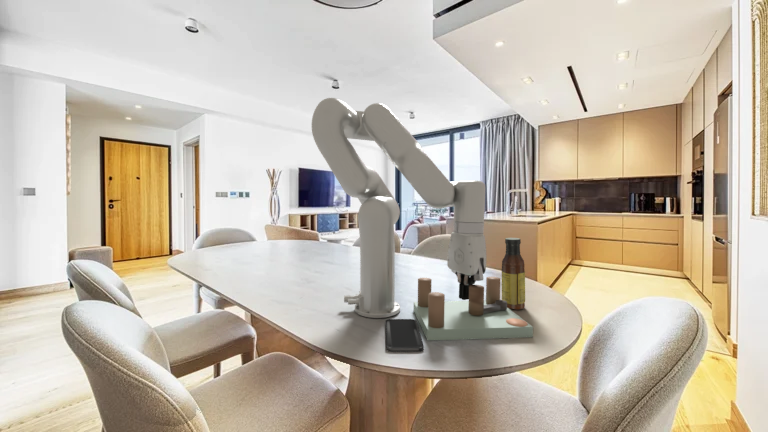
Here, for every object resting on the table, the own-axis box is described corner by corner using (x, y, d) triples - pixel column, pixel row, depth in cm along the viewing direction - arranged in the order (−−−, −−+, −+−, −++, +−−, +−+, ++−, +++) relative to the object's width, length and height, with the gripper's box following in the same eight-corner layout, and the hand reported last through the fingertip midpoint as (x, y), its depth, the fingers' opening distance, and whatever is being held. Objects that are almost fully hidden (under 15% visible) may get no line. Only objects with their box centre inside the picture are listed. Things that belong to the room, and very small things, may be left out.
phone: (386, 348, 62) (385, 318, 77) (386, 353, 62) (385, 323, 77) (424, 348, 62) (416, 319, 77) (424, 353, 63) (416, 323, 77)
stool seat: (427, 340, 67) (427, 298, 67) (413, 310, 85) (413, 277, 85) (532, 337, 69) (533, 296, 69) (497, 308, 87) (498, 275, 86)
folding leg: (500, 305, 81) (500, 281, 81) (510, 310, 78) (511, 284, 78) (465, 311, 77) (465, 285, 77) (474, 316, 74) (475, 289, 73)
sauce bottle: (520, 303, 91) (522, 237, 90) (528, 311, 85) (530, 240, 84) (498, 302, 92) (499, 236, 91) (504, 310, 86) (505, 239, 84)
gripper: (438, 226, 84) (436, 292, 85) (478, 232, 71) (475, 310, 72) (459, 225, 87) (457, 288, 89) (501, 231, 74) (498, 305, 75)
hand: (465, 298), depth 80 cm, fingers closed
